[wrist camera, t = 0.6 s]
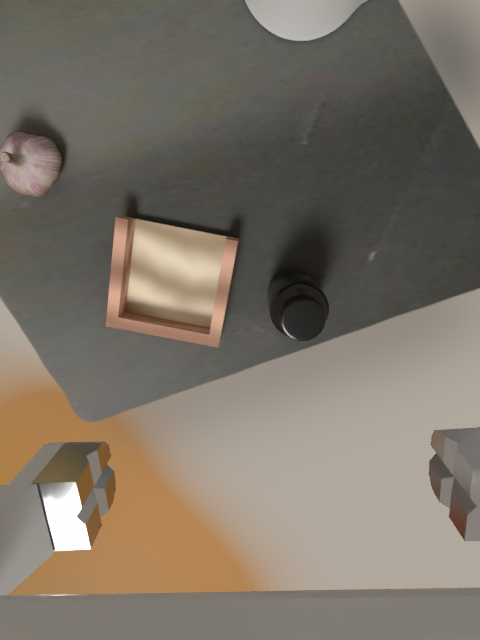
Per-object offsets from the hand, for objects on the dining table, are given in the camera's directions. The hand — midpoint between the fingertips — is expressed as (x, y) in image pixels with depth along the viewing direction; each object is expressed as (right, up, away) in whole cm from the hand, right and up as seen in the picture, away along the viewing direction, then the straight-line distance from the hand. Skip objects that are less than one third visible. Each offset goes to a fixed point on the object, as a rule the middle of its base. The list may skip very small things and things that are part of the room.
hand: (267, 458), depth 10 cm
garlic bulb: (-26, +23, +39) cm, 52 cm away
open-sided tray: (-9, +9, +42) cm, 44 cm away
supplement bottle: (+6, +7, +42) cm, 43 cm away
